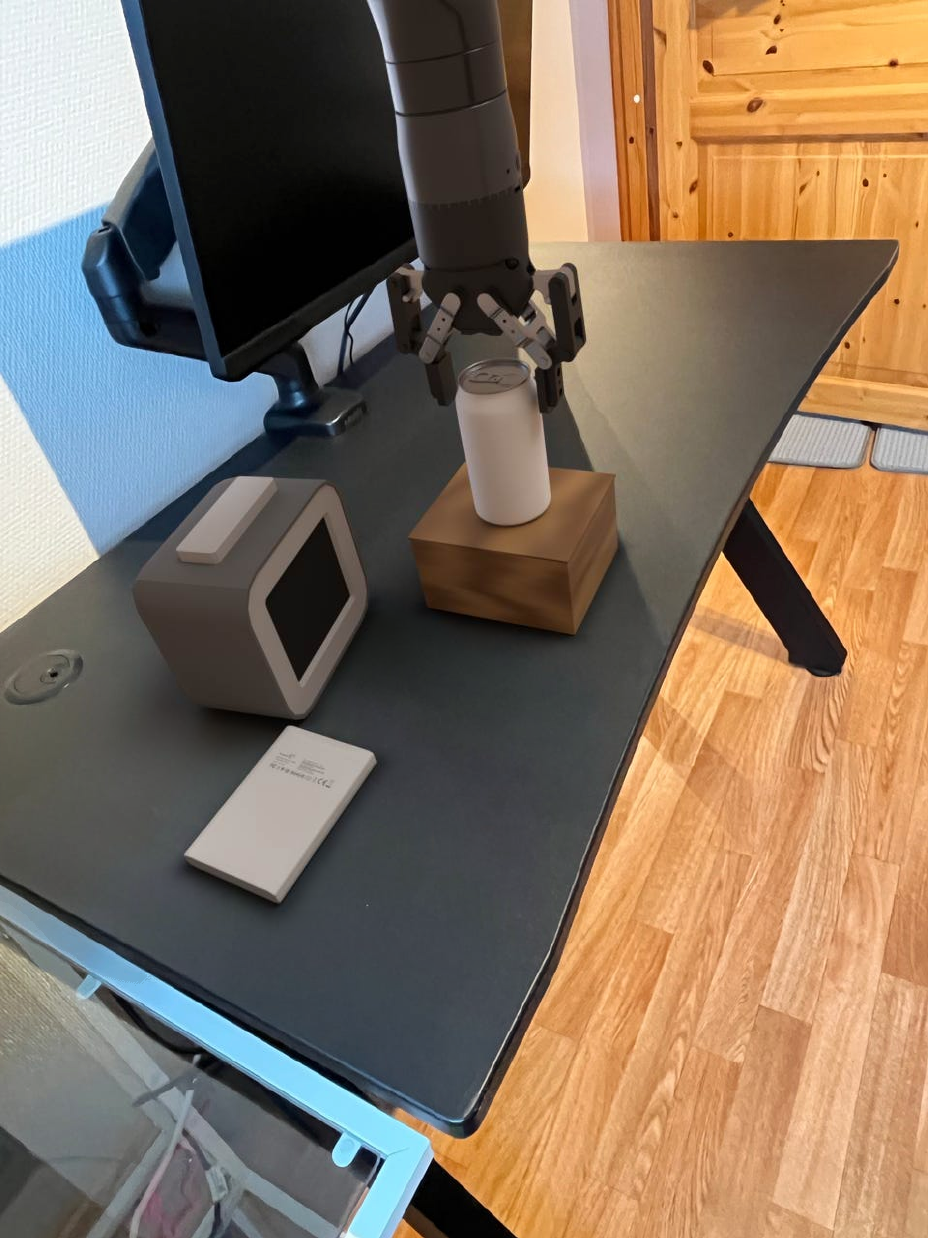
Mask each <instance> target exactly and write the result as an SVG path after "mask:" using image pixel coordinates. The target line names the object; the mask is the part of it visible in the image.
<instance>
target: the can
mask: <svg viewBox="0 0 928 1238" xmlns="http://www.w3.org/2000/svg"><path fill="white" fill-rule="evenodd" d="M456 385H457V394H456V398H455V399H454V401H455V409H456V413H457V414H456V415H457V419H458V426H459V431H460V437H461V442H462V447H463V452H464V457H465V461H466V463H467V469H468V474H469V479H470V484H471V489H472V494H473V499H474V504H475V509H476V512H477V514H478V515H479V516H480V517H481V518H482V519H484V520H485V521H487V522H489V523H491V524H494V525H498V526H517V525H522V524H525V523H528V522H531V521H533V520H535V519H536V518H538V517H540V516H541V515H542V514H543V513H544V511H545V510H546V509H547V507H548V506H549V504H550V501H551V492H550V482H549V473H548V467H549V465H548V456H547V447H546V440H545V431H544V430H545V429H544V422H543V414H541V413H540V412H539V405H538V396H537V388H536V379H535V377H534V376H533V375H532V368H531V366H530V364H529V363H527V362H526V361H524V360H522V359H518V358H514V357H493V358H487V359H484V360H481V361H478V362H475V363H473V364H471V365H469V366H467V367H465V368H464V369H463V370H462V371H461V372H460V373H459V374H458V376H457V378H456Z"/></svg>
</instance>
